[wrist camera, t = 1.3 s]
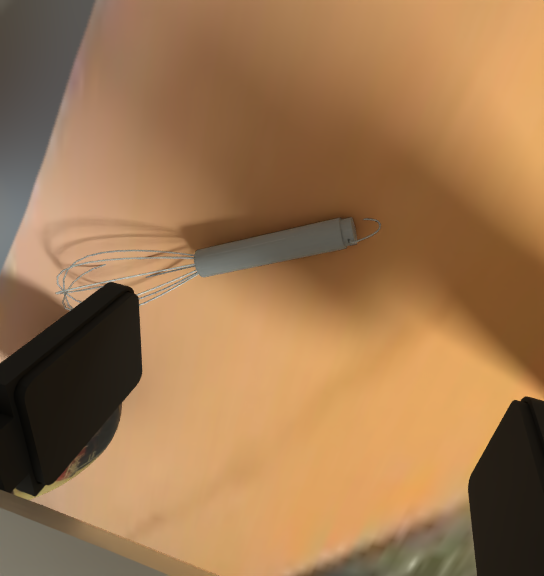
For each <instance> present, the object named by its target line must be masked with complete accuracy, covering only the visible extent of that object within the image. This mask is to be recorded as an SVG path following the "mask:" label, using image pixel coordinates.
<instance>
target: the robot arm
mask: <svg viewBox="0 0 544 576" xmlns="http://www.w3.org/2000/svg"><path fill="white" fill-rule="evenodd" d="M141 375H142V356H141V336H140V317H139V299H138V296H137V295H136V294H134V291H133V289H132V288H131V287H128V286H124V285H121V284H117V283H114V282H109V283H107V284H105V285H104V286H103V287H101V288H100V289H99V290H97V291H96V292H95V293H93V294H92V295H91V296H90V297H88V298H87V299H86V300H84V301H83V302H82V303H80V304H79V305H78V306H76V307H75V308H74V309H72V310H71V311H70V312H68V313H67V314H66V315H64V316H63V317H62V318H60V319H59V320H58V321H56V322H55V323H54V324H52V325H51V326H50V327H48V328H47V329H46V330H44V331H43V332H42V333H40V334H39V335H38V336H36V337H35V338H34V339H32V340H31V341H30V342H28V343H27V344H26V345H24V346H23V347H22V348H20V349H19V350H18V351H16V352H15V353H14V354H12V355H11V356H10V357H8V358H7V359H6V360H4V361H3V362H2V363H0V576H219V575H216V574H214V573H211V572H209V571H206V570H204V569H201V568H199V567H196V566H194V565H191V564H189V563H186V562H184V561H181V560H179V559H176V558H174V557H171V556H169V555H166V554H164V553H161V552H159V551H156V550H154V549H151V548H149V547H146V546H144V545H141V544H139V543H136V542H134V541H131V540H129V539H126V538H124V537H121V536H119V535H116V534H113V533H111V532H108V531H106V530H103V529H101V528H98V527H96V526H93V525H91V524H88V523H86V522H83V521H81V520H78V519H75V518H73V517H70V516H68V515H65V514H63V513H60V512H58V511H55V510H53V509H50V508H48V507H45V506H43V505H40V504H37V503H35V502H32V501H29V500H27V499H24V498H21V497H18V496H16V495H13V494H10V493H11V492H12V491H13V490H14V489H15V488H16V489H17V490H19V491H22V492H24V493H27V494H29V495H32V496H34V497H36V496H37V495H38V494H39V492H40V491H41V490H42V489H43V488H44V487H45V485H51V484H53V483H54V482H55V481H56V480H57V479H58V478H59V477H60V475H61V474H62V473H63V472H64V471H65V469H66V468H67V467H68V466H69V465H70V464H71V462H72V461H73V460H74V459H75V458H76V456H77V455H78V454H79V453H80V452H81V451H82V449H83V448H84V447H85V446H86V445H87V443H88V442H89V441H90V440H91V439H92V437H93V436H94V435H95V434H96V433H97V432H98V430H99V429H100V428H101V427H102V426H103V424H104V423H105V422H106V421H107V420H108V418H109V417H110V416H111V415H112V414H113V413H114V411H115V410H116V409H117V408H118V407H119V405H120V404H121V403H122V402H123V401H124V400H125V398H126V397H127V396H128V395H129V394H130V392H131V391H132V390H133V389H134V388H135V386H136V385H137V384H138V383H139V381H140V378H141ZM468 494H469V503H470V512H471V522H472V531H473V540H474V550H475V559H476V568H477V576H544V401H542V400H538V399H535V398H531V397H524V398H523V399H522V400H521V401H517V400H514V401H513V402H512V403H511V404H510V406H509V408H508V410H507V411H506V413H505V415H504V417H503V418H502V420H501V422H500V424H499V426H498V427H497V429H496V431H495V433H494V435H493V436H492V438H491V440H490V442H489V443H488V445H487V447H486V449H485V451H484V452H483V454H482V456H481V458H480V460H479V461H478V463H477V465H476V467H475V469H474V470H473V472H472V474H471V476H470V479H469V484H468Z"/></svg>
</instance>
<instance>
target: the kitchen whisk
mask: <svg viewBox="0 0 544 576" xmlns="http://www.w3.org/2000/svg"><path fill="white" fill-rule="evenodd" d="M363 220H373V221H376V222H378V223H379V228H378V230H377V231H376V232H374V233H373V234H371V235H369V236H367V237H365V238H362V239H360V240H357V234H356V229H355V225H354V221H353V219H352V217H350V218H346V219H341V218H336V219H331V220H327V221H323V222H318V223H314V224H309V225H305V226H301V227H296V228H292V229H287V230H283V231H279V232H274V233H270V234H265V235H261V236H257V237H252V238H248V239H243V240H239V241H235V242H230V243H226V244H221V245H217V246H213V247H208V248H204V249H199V250H197V251H196V252H195V255H193V254H185V253H177V252H167V251H154V250H116V251H107V252H100V253H96V254H92V255H88V256H86V257H84V258H87V257H89V256H93V255H97V254H102V253H110V252H121V251H146V252H163V253H173V254H182V255H190V256H194V257H136V258H117V259H105V260H98V261H90V262H85V263H81V264H77V265H74V264H75V263H76V262H78V261H80V260H82V259H84V258H81V259H79V260H77V261H75V262H74V263H73V264H72V265H71V266H70V267H69V268H66V269H64V270H62V271H61V272H60V274H61V273H62V272H63V271H65V270H67V271H66V273H65V276H64V278H63V289H62V288H61V286H60V285H59V284H58V277H59V275H60V274H59V275H58V276H57V285H58V286H59V287H60V288H61V290H62V291H59V292H56V294H63V293H64V298H63V301H62V303H63V305H64V308H65V309H68V310H72V309H73V308H72V307H71V306H70V305H69V302H68V300H67V297H66V295H68V294H67V293H71V292H78V291H84V290H90V289H95V288H100V287H103V286H99V287H94V288H89V289H83V290H76V291H69V290H73V289H78V288H82V287H87V286H92V285H97V284H101V283H106V282H111V281H116V280H121V279H126V278H131V277H136V276H141V275H146V274H151V273H156V272H161V271H167V270H172V269H176V270H172V271H168V272H164V273H159V274H155V275H151V276H147V277H152V276H156V275H161V274H165V273H169V272H173V271H178V270H182V269H186V268H190V267H194V266H195V267H196V270H194V271H192V272H190V273H188V274H185V275H183V276H181V277H179V278H176V279H174V280H172V281H169V282H167V283H165V284H162V285H160V286H157V287H155V288H152V289H150V290H147V291H145V292H142V293H139V294H137V296H138V295H141V294H143V293H146V292H148V291H151V290H154V289H156V288H158V287H161V286H163V285H166V284H168V283H171V282H173V281H175V280H177V279H180V278H182V277H184V276H187V275H189V274H191V273H193V272H195V271H197V272H196V273H194V274H192V275H190V276H189V277H187V278H185V279H183V280H181V281H179V282H177V283H175V284H173V285H171V286H174V285H176V284H178V283H180V282H182V281H184V280H186V279H187V280H186V281H184V282H182V283H181V284H179V285H177V286H175V287H174V288H172V289H170V290H168V291H166V292H164V293H163V294H161V295H159V296H157V297H155V298H153V299H156V298H158V297H160V296H162V295H164V294H165V293H167V292H169V291H171V290H173V289H175V288H176V287H178V286H180V285H182V284H183V283H185V282H187V281H188V280H190V279H192V278H193V277H195V276H196V275H198V274H199V275H200V276H201V277H208V276H213V275H218V274H223V273H228V272H232V271H237V270H242V269H247V268H252V267H257V266H262V265H267V264H272V263H277V262H282V261H287V260H292V259H297V258H302V257H307V256H312V255H317V254H322V253H326V252H331V251H336V250H341V249H346V248H347V246H350V245H355V244H357V242H359V241H361V240H364V239H366V238H369V237H371V236H372V235H374V234H376V233H377V232H378V231H379V230H380V228H381V224H380V222H379V221H378V220H375V219H369V218H366V219H363ZM148 258H172V259H194V264H190V265H185V266H180V267H175V268H170V269H164V270H159V271H154V272H149V273H144V274H139V275H134V276H129V277H124V278H119V279H114V280H109V281H104V282H99V283H95V284H90V285H85V286H80V287H76V288H71V289H70V287H71V286H72V285H73V283H74V282H75V281H77V280H78V279H79V278H80V277H81V276H82V275H84V274H86V273H88V272H90V271H91V270H93V269H96V268H99V267H102V266H104V265H106V264H104V265H101V266H98V267H95V268H93V269H91V270H89V271H87V272H85V273H83V274H82V275H81V276H79V277H78V278H77V279H76V280H75V281H73V282H72V284H71V285H70V287H69V288H68V289H67V290H65V285H64V279H65V277H66V274H67V272H68V270H69V269H70V268H72V267H74V266H79V265H83V264H87V263H93V262H100V261H109V260H122V259H148ZM192 265H193V266H192ZM187 266H189V267H187ZM182 267H185V268H182ZM177 268H180V269H177ZM193 275H194V276H193ZM191 276H192V277H191ZM147 277H145V278H147ZM190 277H191V278H190ZM188 278H189V279H188ZM171 286H168V287H166V288H164V289H162V290H165V289H167V288H169V287H171ZM162 290H159V291H157V292H155V293H152V294H149V295H147V296H150V295H153V294H156V293H158V292H160V291H162ZM65 291H66V292H65ZM68 291H69V292H68ZM60 292H61V293H60ZM68 296H69V297H70V298H72V299H73V300H75V301H77V302H80V303H82V302H81V301H78V300H76V299H74V298H73V297H71V296H70V295H68ZM147 296H144V297H141V298H138V299H142V298H145V297H147ZM65 298H66V301H67V303H68V306H69V307H70V308H71V309H69V308H66V306H65V304H64V300H65ZM153 299H150V300H148V301H146V302H144V303H142V304H139V306H140V305H143V304H145V303H147V302H149V301H151V300H153Z"/></svg>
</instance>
